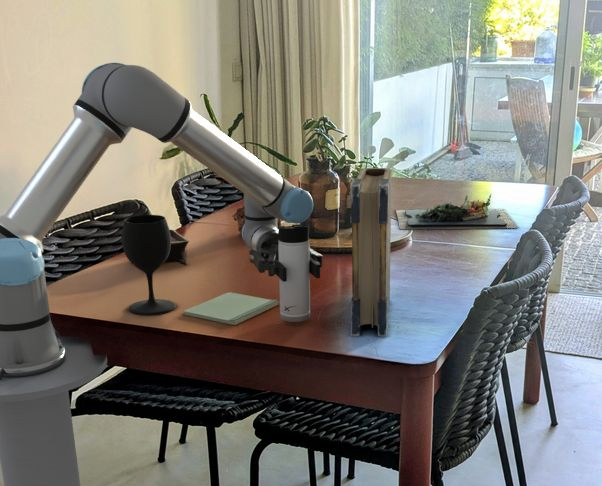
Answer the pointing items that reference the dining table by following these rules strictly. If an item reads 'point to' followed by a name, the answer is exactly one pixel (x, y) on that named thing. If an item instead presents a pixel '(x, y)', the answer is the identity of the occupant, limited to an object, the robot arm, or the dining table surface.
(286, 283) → the travel mug
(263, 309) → the pale green notebook
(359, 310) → the decorative book
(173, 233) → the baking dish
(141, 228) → the wine glass
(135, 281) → the dining table surface
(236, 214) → the seed pod
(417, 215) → the plated dish
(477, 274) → the dining table surface
